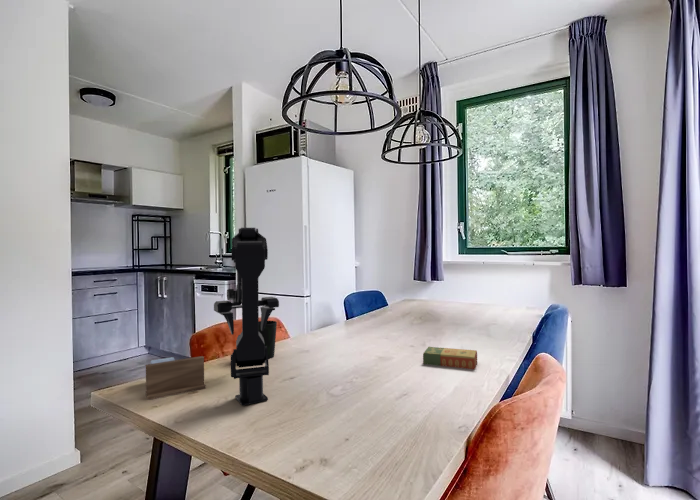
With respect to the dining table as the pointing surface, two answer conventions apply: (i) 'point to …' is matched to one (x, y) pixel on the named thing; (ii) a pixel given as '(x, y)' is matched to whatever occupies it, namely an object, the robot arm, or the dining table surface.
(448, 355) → the carton
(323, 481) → the dining table surface
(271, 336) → the cup
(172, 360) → the letter cube
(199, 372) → the wooden l bracket
